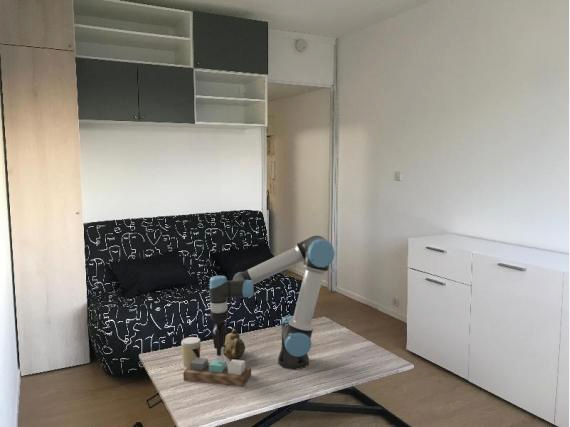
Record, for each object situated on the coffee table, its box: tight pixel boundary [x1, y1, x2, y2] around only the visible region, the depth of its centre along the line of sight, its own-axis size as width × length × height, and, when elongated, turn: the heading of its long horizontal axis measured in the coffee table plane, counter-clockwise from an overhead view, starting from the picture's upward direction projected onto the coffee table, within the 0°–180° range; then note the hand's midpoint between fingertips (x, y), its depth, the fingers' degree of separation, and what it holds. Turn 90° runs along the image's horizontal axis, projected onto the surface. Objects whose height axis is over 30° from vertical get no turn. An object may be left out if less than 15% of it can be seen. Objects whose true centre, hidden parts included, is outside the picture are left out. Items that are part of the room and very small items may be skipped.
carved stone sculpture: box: [223, 328, 246, 360], centre depth 234 cm, size 21×12×15 cm, turn 18°
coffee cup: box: [180, 336, 202, 368], centre depth 228 cm, size 9×9×12 cm
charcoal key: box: [190, 357, 209, 371], centre depth 215 cm, size 6×6×5 cm
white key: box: [228, 359, 246, 375], centre depth 211 cm, size 6×6×5 cm
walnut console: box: [183, 362, 252, 388], centre depth 213 cm, size 28×12×4 cm, turn 77°
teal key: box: [209, 359, 227, 373], centre depth 213 cm, size 6×6×5 cm
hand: (220, 361), depth 213 cm, fingers closed
